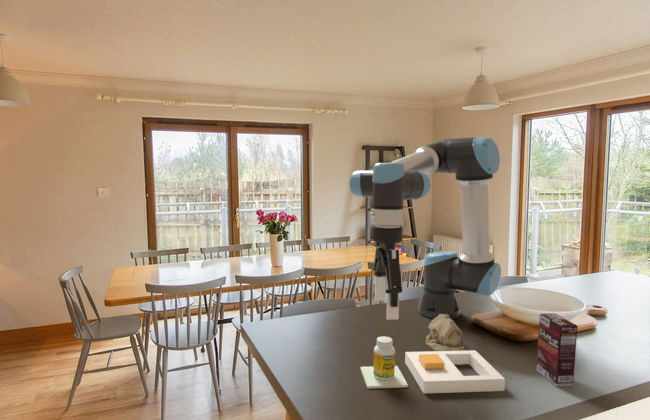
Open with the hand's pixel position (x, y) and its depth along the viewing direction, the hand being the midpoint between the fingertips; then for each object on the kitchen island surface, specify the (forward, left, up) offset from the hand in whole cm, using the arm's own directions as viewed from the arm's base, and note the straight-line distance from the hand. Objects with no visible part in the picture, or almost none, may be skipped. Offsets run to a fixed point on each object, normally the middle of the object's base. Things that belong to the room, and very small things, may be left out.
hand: (385, 309), depth 103 cm
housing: (0, +18, -18) cm, 25 cm away
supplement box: (+3, +44, -18) cm, 47 cm away
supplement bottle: (0, 0, -17) cm, 17 cm away
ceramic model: (-18, +23, -18) cm, 35 cm away
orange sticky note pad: (0, +12, -18) cm, 21 cm away
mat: (0, 0, -18) cm, 18 cm away
